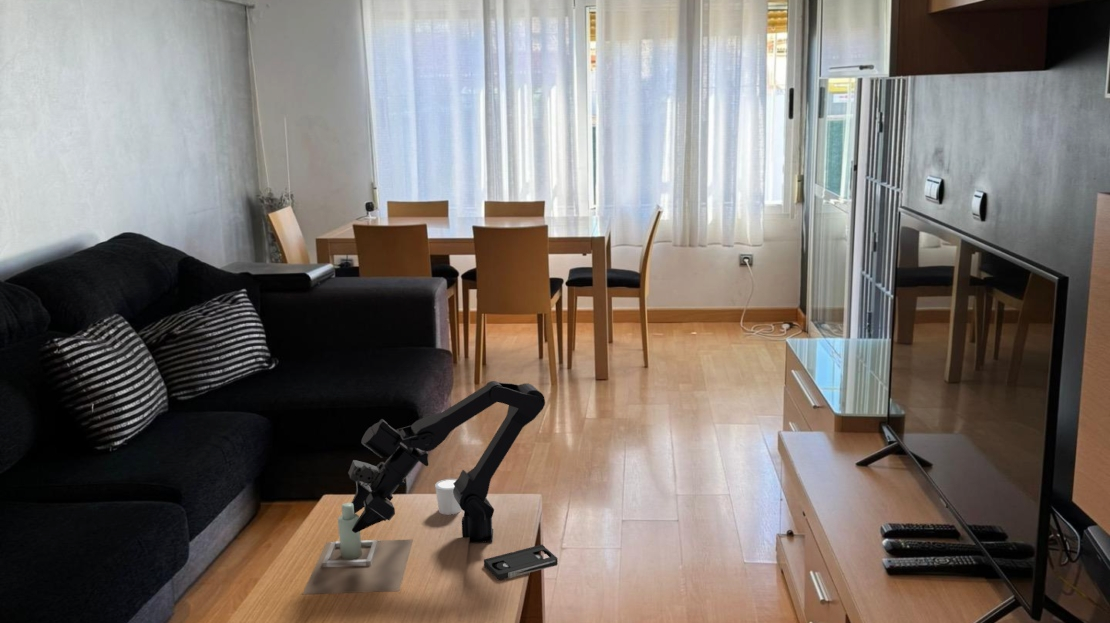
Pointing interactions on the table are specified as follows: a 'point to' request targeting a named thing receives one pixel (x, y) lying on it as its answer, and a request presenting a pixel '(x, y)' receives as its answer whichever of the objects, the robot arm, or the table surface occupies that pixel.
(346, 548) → the bottle
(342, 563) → the board
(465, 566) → the table surface
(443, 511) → the white cup
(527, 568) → the vhs tape
